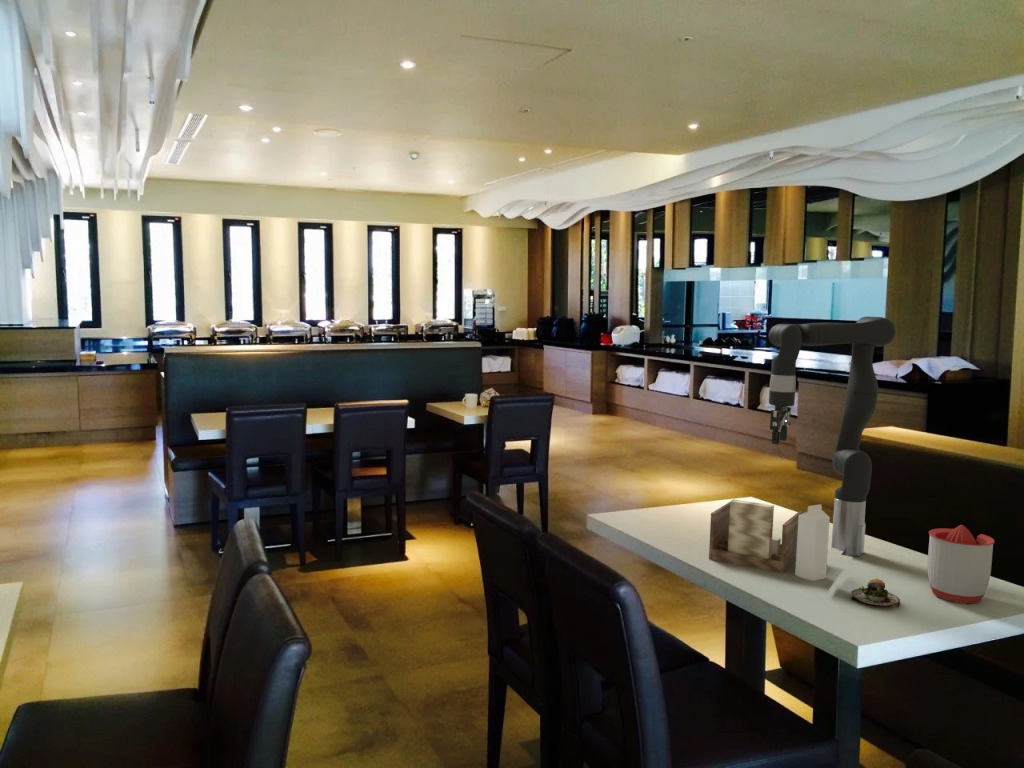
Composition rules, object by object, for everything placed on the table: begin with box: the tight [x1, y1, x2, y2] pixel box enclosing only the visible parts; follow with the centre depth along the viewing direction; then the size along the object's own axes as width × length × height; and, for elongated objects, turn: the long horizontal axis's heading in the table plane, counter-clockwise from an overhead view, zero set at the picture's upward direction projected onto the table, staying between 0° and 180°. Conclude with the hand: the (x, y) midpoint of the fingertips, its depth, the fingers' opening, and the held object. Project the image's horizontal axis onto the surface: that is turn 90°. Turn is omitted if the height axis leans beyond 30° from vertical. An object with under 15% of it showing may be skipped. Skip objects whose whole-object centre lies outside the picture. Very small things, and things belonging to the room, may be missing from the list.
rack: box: [708, 501, 804, 574], centre depth 247 cm, size 22×20×16 cm
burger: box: [850, 578, 901, 608], centre depth 216 cm, size 12×12×8 cm
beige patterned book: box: [728, 499, 775, 559], centre depth 241 cm, size 12×3×18 cm, turn 58°
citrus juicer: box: [927, 524, 995, 605], centre depth 221 cm, size 16×17×20 cm
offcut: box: [771, 536, 782, 555], centre depth 244 cm, size 5×3×7 cm, turn 57°
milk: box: [794, 504, 831, 582], centre depth 230 cm, size 6×6×22 cm
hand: (779, 442), depth 250 cm, fingers open, 8 cm apart
